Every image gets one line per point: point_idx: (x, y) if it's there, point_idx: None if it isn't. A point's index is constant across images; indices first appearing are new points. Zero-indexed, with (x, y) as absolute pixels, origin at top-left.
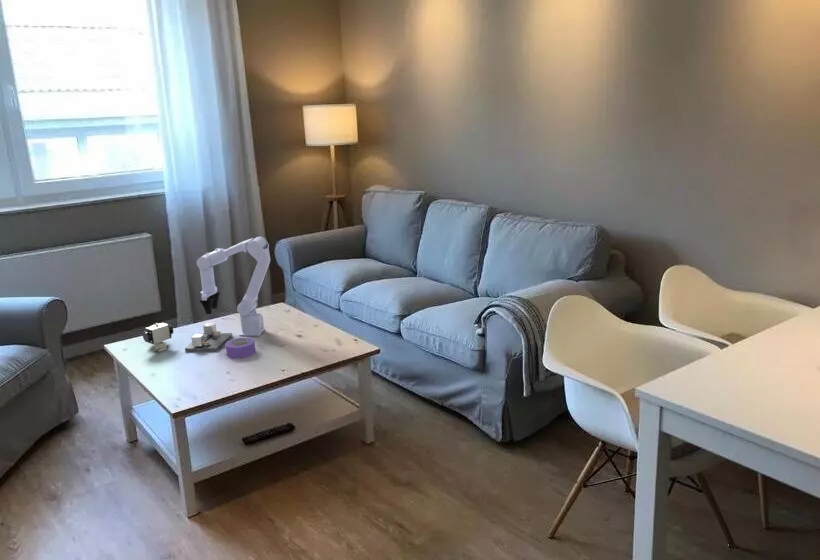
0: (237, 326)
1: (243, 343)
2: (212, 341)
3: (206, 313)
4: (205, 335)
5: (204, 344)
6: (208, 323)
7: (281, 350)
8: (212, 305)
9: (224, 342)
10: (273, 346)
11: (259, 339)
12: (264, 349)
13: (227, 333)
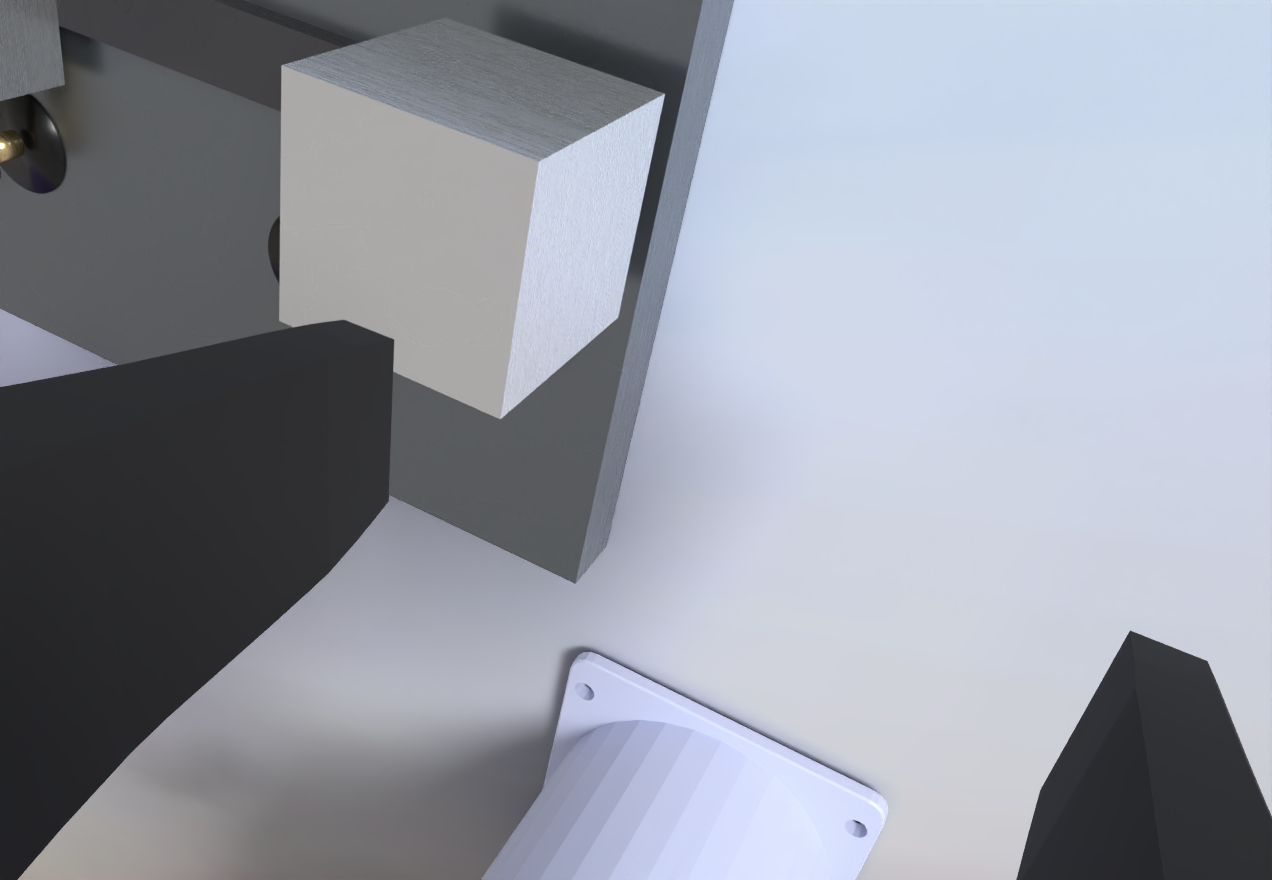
0: (1247, 742)
1: None
2: (193, 213)
3: (308, 333)
4: (541, 24)
5: (62, 60)
6: (499, 222)
7: (110, 873)
8: (1115, 784)
9: None
10: (197, 859)
11: (407, 824)
12: (121, 768)
13: (571, 508)
